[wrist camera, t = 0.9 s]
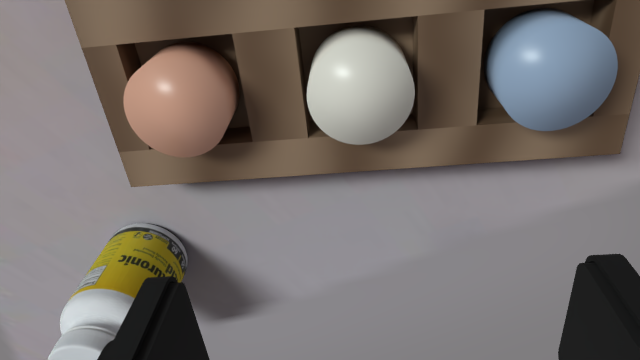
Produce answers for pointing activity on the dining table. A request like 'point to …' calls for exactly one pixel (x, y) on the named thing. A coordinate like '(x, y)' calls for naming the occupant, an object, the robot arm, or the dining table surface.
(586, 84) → the blue rounded knob
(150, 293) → the robot arm
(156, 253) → the supplement bottle
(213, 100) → the pink rounded dome
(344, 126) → the cream button
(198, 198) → the dining table surface
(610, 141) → the wooden compartment tray
